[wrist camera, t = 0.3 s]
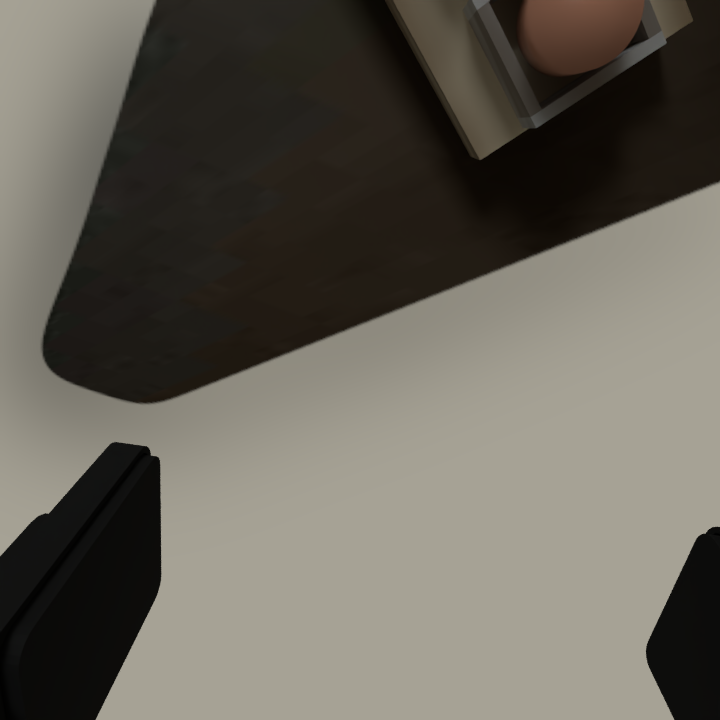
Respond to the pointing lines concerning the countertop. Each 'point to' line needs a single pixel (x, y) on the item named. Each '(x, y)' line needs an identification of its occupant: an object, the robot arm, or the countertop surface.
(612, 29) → the outer knob
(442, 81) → the knob plinth
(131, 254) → the countertop surface
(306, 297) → the countertop surface
